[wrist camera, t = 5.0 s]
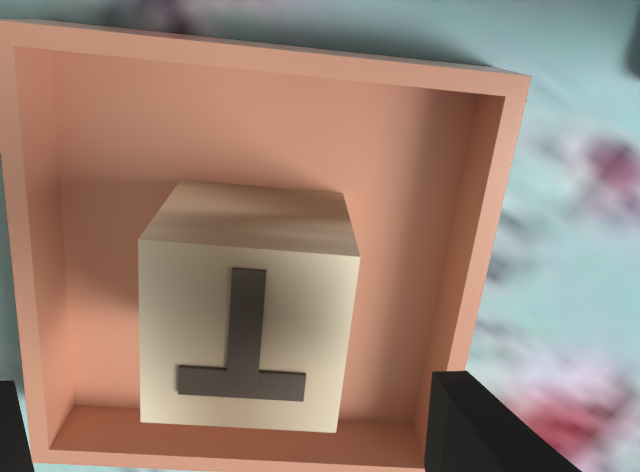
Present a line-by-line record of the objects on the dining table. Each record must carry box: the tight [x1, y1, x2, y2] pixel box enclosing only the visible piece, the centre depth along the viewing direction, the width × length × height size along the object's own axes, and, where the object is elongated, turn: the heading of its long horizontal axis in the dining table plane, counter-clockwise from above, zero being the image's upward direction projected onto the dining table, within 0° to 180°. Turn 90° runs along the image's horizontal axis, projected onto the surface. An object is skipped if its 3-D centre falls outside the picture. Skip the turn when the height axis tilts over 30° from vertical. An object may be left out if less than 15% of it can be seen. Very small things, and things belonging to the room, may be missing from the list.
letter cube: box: [138, 180, 360, 433], centre depth 14 cm, size 4×4×5 cm
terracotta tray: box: [0, 19, 532, 472], centre depth 16 cm, size 12×12×3 cm
